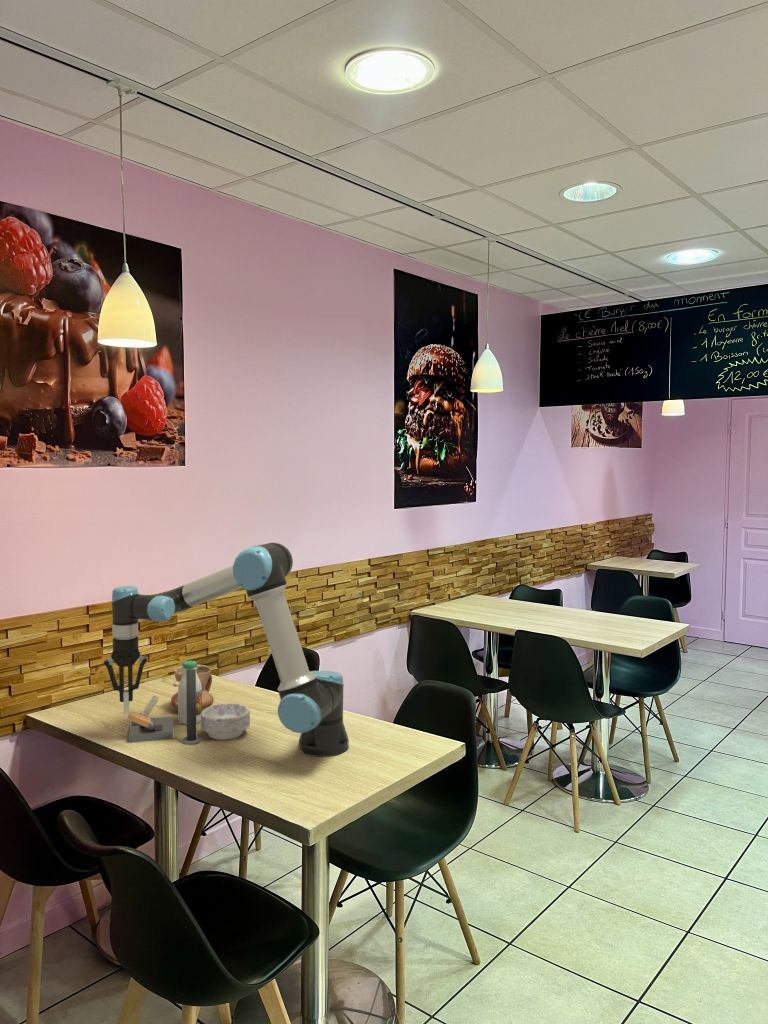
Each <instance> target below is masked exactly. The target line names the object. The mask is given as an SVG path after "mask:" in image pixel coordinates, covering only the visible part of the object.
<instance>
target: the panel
mask: <svg viewBox="0 0 768 1024" xmlns="http://www.w3.org/2000/svg"><path fill="white" fill-rule="evenodd" d="M149 719H154V720H155V728H154V729H153V730H149V729H148V728H147V727H145V726H142V725H140V724H137V723H135V722H133V721H130V726H129V727H130V728H129V733H128V741H129V742H128V743H140V742H152V741H153V742H154V741H164V740H166V741H167V740H173V739H174V716H164V717H153V718H152V717H151V718H149Z"/></svg>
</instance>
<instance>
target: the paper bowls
mask: <svg viewBox="0 0 768 1024" xmlns="http://www.w3.org/2000/svg"><path fill="white" fill-rule="evenodd" d="M250 712H251V711H250V708H249V707H248V706H247V705H244V704H242V703H241V704H240V703H233V702H231V703H217V704H212V705H211V706H210V707H207V708H205V709H204V710H202V712H201V722H200V729H201V730H202V731H204V732H206V733H207V735H208V736H209V737H210V738H211V739H212V740H213V739H214V740H220V741H228V740H232V739H236V738H238V737H240V736H241V735H242V734H243V733H244V730H246V729H247V728H249V727H250V726H251V725H250V724H251V714H250Z"/></svg>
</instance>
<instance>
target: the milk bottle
mask: <svg viewBox="0 0 768 1024" xmlns="http://www.w3.org/2000/svg"><path fill="white" fill-rule="evenodd" d="M197 665H198V662H197V661H195V660H185V661H183V662H182V666H183V675H182V678H181V680H180V682H179V686H177V690H178V691H177V692H178V710H177V714H178V715H177V721H178V723H179V724H181V725H185V726H187V691H186V670H188V669H195V670H196V669H197ZM202 711H203V710H202V686H201V682H200V679H199V677H198V675H197V672H196V725H197V724H199V723H201V712H202Z"/></svg>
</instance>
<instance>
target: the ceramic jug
mask: <svg viewBox="0 0 768 1024" xmlns="http://www.w3.org/2000/svg"><path fill="white" fill-rule="evenodd" d="M196 672H197V675H198V677H199V679H200V682H201V686H202V711H203V710H204V709H205V708H207V707H210V706H213V703H214V701H215V699H214V696H213V694H212V693H210V690H211V686H212V682H213V675H212V674H211V672H212V668H211V667H210V666H208V665H205V664H197V669H196ZM173 673H174V678H175V680H176V681H175V682H174V683H172V686H173V687H174V688H175V687H177V688H178V686H179V682H180V680H181V678H182V675H183V665H182V666H181V665H180V666H178V667H176V668H175V669H174V671H173ZM170 705H171V706H172V708H173V709H175V710H176V711H178V691H177V692H176V693H175V694H173V695H172V697H171V699H170Z"/></svg>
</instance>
